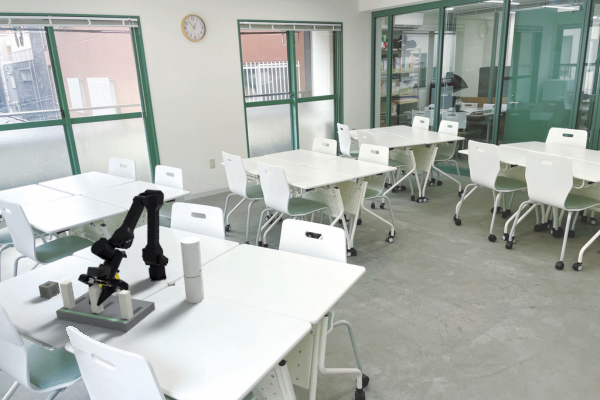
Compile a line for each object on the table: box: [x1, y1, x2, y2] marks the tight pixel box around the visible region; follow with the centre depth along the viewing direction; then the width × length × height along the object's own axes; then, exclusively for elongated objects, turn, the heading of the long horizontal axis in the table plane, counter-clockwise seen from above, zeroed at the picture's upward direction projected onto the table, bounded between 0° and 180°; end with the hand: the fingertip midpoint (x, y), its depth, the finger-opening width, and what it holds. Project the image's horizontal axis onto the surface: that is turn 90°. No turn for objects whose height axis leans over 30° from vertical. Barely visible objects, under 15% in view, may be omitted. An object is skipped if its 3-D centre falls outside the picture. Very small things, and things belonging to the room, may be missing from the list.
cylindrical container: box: [180, 236, 205, 304], centre depth 170 cm, size 7×7×25 cm
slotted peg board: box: [55, 280, 156, 333], centre depth 162 cm, size 16×31×13 cm, turn 72°
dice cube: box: [38, 280, 61, 300], centre depth 177 cm, size 5×5×5 cm
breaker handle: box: [87, 285, 104, 313], centre depth 158 cm, size 2×3×10 cm
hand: (93, 305), depth 157 cm, fingers closed on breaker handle, 3 cm apart
